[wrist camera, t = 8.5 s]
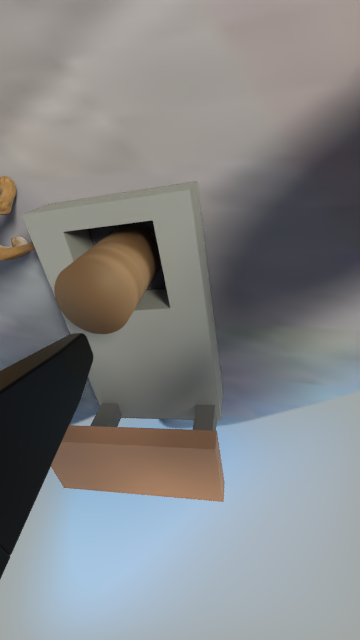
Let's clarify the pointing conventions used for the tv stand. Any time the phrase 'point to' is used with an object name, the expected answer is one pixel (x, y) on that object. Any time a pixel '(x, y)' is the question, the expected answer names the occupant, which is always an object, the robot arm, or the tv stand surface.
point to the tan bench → (143, 457)
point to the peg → (108, 280)
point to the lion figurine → (3, 207)
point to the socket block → (145, 302)
